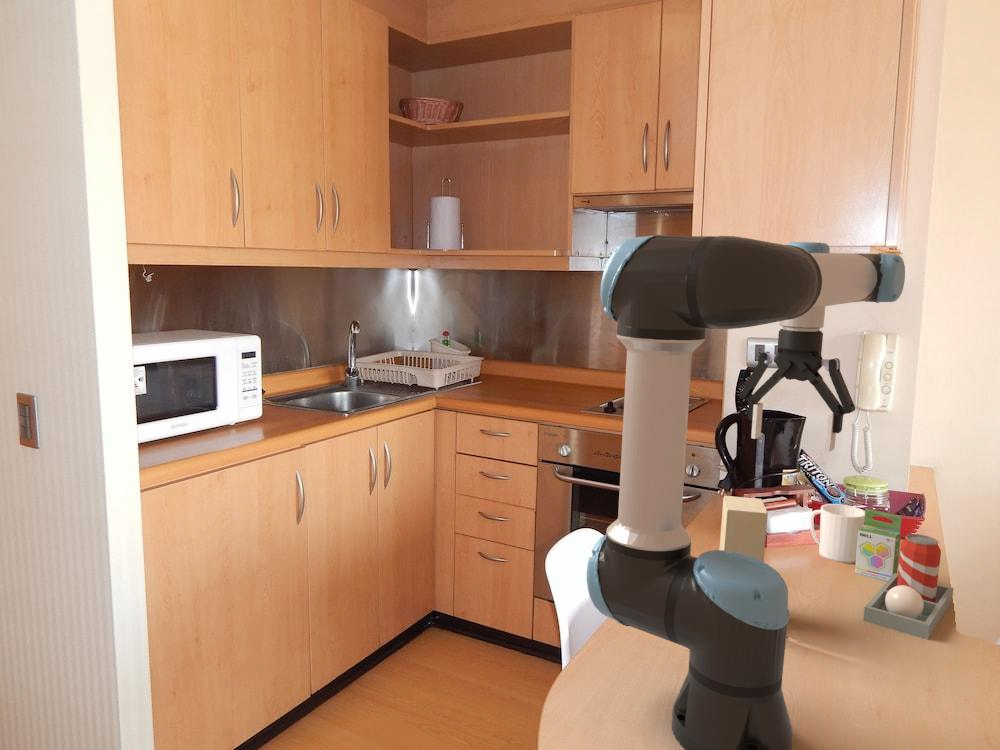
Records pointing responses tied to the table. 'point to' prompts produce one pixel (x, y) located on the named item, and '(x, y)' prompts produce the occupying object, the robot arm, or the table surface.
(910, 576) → the beverage can
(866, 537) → the ink box
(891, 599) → the egg
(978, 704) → the table surface
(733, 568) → the robot arm
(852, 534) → the mug
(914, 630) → the tray
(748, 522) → the beige tall block
